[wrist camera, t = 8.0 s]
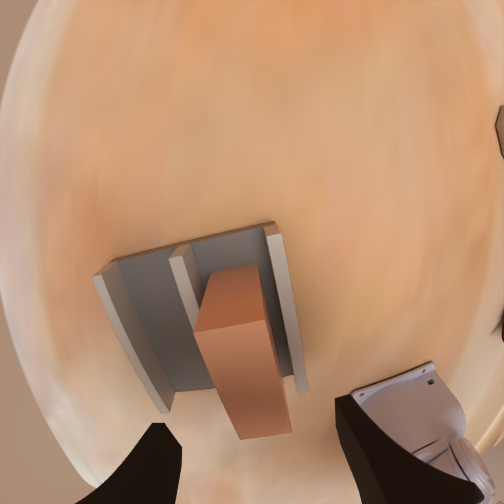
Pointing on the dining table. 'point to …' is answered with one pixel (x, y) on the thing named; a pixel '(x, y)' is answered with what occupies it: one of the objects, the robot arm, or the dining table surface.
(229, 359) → the terracotta tile
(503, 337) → the cocoa
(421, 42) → the dining table surface
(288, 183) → the dining table surface
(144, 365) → the dish rack
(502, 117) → the flask
